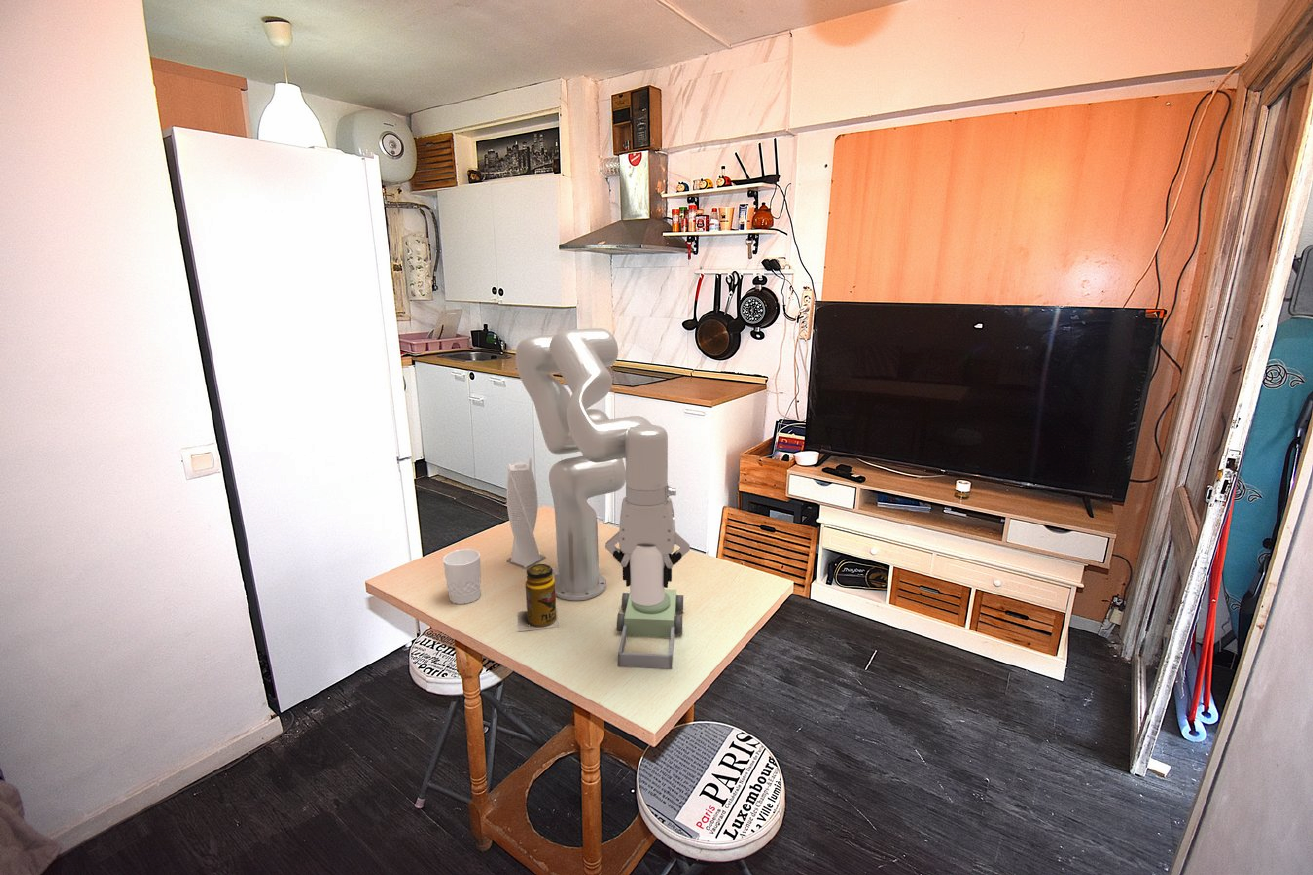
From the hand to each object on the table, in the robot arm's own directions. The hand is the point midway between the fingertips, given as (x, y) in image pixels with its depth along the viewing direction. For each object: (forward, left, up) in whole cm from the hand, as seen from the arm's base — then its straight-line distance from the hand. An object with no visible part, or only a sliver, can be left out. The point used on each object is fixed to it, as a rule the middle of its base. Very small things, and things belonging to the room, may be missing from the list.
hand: (647, 582), depth 108 cm
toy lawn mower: (0, +6, -15) cm, 16 cm away
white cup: (-43, +17, -15) cm, 49 cm away
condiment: (-24, +9, -15) cm, 30 cm away
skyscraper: (-34, +35, -15) cm, 51 cm away
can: (0, 0, -3) cm, 3 cm away
